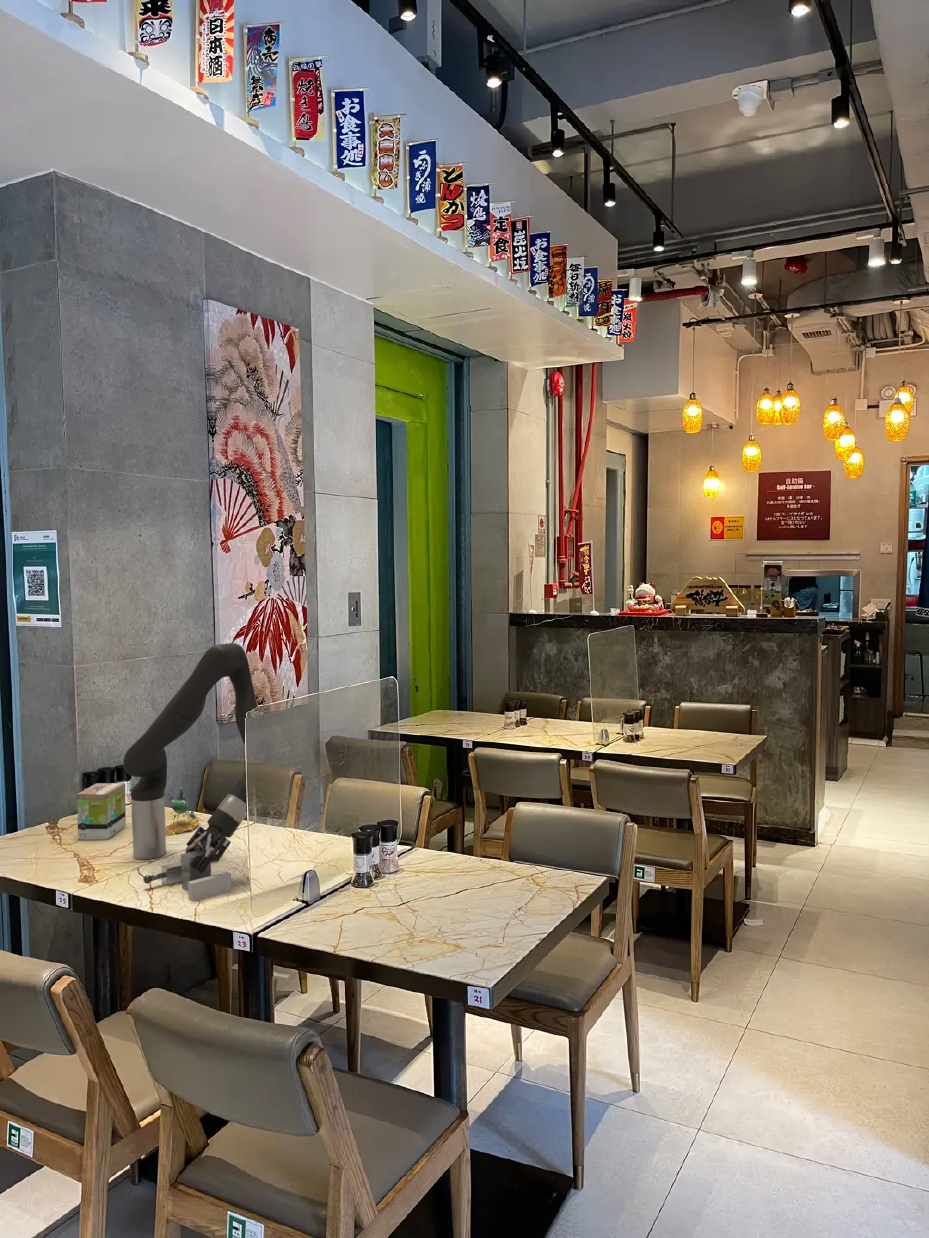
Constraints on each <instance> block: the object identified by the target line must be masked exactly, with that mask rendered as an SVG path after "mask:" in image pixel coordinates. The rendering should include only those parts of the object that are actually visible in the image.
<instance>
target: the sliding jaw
mask: <svg viewBox="0 0 929 1238" xmlns="http://www.w3.org/2000/svg"><path fill="white" fill-rule="evenodd" d="M160 868H161V869H160V871H161V872H160V873H159V872H158V873H156V874H151V875H150V874H146V875H145V876H143V882H144V884H146V885H147V884H150V883H152V882H153V881H156V880H161V883H162V884H163V885H164V886H170V885H174V884H179V883H182V869H181V861H177V862H172V863H170V864H169V863H168V864H165V865H162V866H161V867H160Z"/></svg>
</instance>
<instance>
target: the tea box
mask: <svg viewBox="0 0 929 1238" xmlns="http://www.w3.org/2000/svg"><path fill="white" fill-rule="evenodd" d="M76 799H77V803H76V804H77V808H76V809H77V817H76V818H77V840H81V841H82V840H84V841H86V840H87V841H90V840H91V841H94V840H95V841H97V840H102V841H105V840H109V839H110V838H111V837H112V836H114V835H115V834H117V833H118V832H120V831H121V830H122V829H124V828H126V826H127V818H126V810H127V809H126V784H125V783H123V782H122V783H121V782H116V783H115V782H113V783H112V782H108V783H107V782H103V783H101V782H100V783H99V782H98V783H97V782H96V783H94V784H93V785H91V786H89V787H87V788H85V789H83V790H82V791H81V792H78V793H77V795H76Z"/></svg>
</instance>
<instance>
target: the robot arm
mask: <svg viewBox="0 0 929 1238" xmlns="http://www.w3.org/2000/svg"><path fill="white" fill-rule="evenodd" d="M250 670H251V669H250V664H249V660H248V657H247V653H246V651H245V650H244V647H242V646H241V645H240V644H239V643H235V642H229V643H222V644H221V643H220V644H215V645H211V646H210V647H209V648H208V649H207V650H206V651H205V652H204V654H203V655H202V657H201V658H200V659H199V661H198V663H197V665H196V667H195V668H194V670H193V671H192V673H191V674H190V675H189V677H188V678H187V680H186V681H185V682H184V683H183V684H182V685H181V687H180V688H179V690H178V691H177V692H176V693H175V694H174V695H173V697H172V698H171V699H170V700H169V701H168V702H167V704H166V705H165V707H164V708H163V709H162V711H160V713H159V715H158V716H157V717H156V718H155V720H154V721H153V722H152V724H151V725H150V726H149V727H148V728H147V730H145V732H144V733H143V734H142V736H140V738H139V739H137V740H136V741H135V742H134V743H133V744H132V745H131V746H130V747H129V748H128V749H127V751H126V752H125V753H124V757H123V760H122V761H123V762H122V763H123V768H124V769H123V770H124V771H125V773H126V774H128V776H130V777H133V778H134V777H135V778H139V779H138V781H137V783H136V784H135V785H134V786H133V787H132V788H131V791H130V801H131V803H130V804H131V824H132V829H131V830H132V831H131V832H132V853H133V858H135V859H136V860H137V859H138V860H152V859H156V858H159V857H163V856H165V855H166V854H167V839H166V837H167V836H166V832H167V831H165V827H166V811H165V810H166V809H165V808H166V807H165V790H166V787H167V783H168V782H167V781H168V760H167V759H168V757H167V753H166V749H165V748H166V747H167V746H169V745H170V744H171V743H172V742H174V741H176V740H177V739H178V738H179V737H181V736H183V735H184V734H185V733H186V732H187V731H189V729H190V728H191V727H192V726H193V725H194V724H195V722H197V721H198V719H199V718H200V716H201V715H202V714H203V712H204V709H205V705H206V700H207V696H208V694H209V693H210V691H211V690H212V689H213V688H214V686H215V685H216V684H217V683H218V682H220V680H222V679H223V678H227V677H228V678H229V680H230V682H231V684H232V686H233V690H234V697H235V703H234V704H235V706H234V707H235V708H234V717H235V722H236V726H237V729H238V732H239V735H240V737H241V740H242V742H243V745H244V746H245V718H246V713H247V712H248V711H251V710H252V709H254V708H256V707H258V708H259V706H258V705H259V704H258V702H257V699H256V695H255V689H254V685H253V679H252V675H251V671H250ZM247 815H248V813H247V812H246V771H245V772H244V773H243V775H242V777H241V778H240V779H239V780H238V782H237V783H236V784H235V785H234V786H233V788H232V789H231V790H230V792H229V793H228V795H226V797H225V798H223V800H222V801H221V802H220V803H219V805H218V806H217V808H216V809H215V810H214V812H213V813H212V814H211V816H210V817H209V818H208V819H207V824H208V826H207V828H206V829H205V828H204V827H202V826H199V827H198V829H197V830H196V831H194V833H193V835H192V836H191V837H190V838H189V840H188V841H187V842H186V847H187V846H188V851H187V852H186V853H188V852H193V851H197V850H201V849H203V850H204V849H205V848H206V854H205V857H203V859H202V860H201V861H200V863H199V864H198V865H197V867H196V870H197V871H198V872H199V873H203V872H204V871H205V869H206V868H207V867H208V865H209V864H210V862H211V863H213V862H215V861H216V862H219V861H220V860H221V858H222V856H223V855H224V853H225V852H226V851H227V849H228V847H229V846H230V845H231V841H230V840H229V838H232V836H233V835H234V833H235V832H236V830H238V828H239V827H240V825H241V823H242V822H243V821H244V820H245V818H246V817H247ZM194 840H195V842H194V843H193V844H192V842H193V841H194ZM200 842H201V843H200ZM197 846H198V847H197ZM196 847H197V848H196ZM218 851H220V852H219V854H218ZM210 853H211V854H210ZM216 854H218V855H216ZM214 860H215V861H214Z"/></svg>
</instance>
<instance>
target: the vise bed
mask: <svg viewBox="0 0 929 1238" xmlns="http://www.w3.org/2000/svg"><path fill="white" fill-rule="evenodd" d="M229 891H232V873H231V872H229V871H223V872H220V873H216V874H213V875H212V874H211V876H208V877H205V878H201V879H197V880H193V881H189V882H188V893H187V894H188V895H187V896H188V900H189V901H191V902H194V901H198V900H200V899H201V900H202V899H205V898H208V897H212V896H215V895H216V896H217V895H219V894H223V893H226V892H229Z"/></svg>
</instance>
